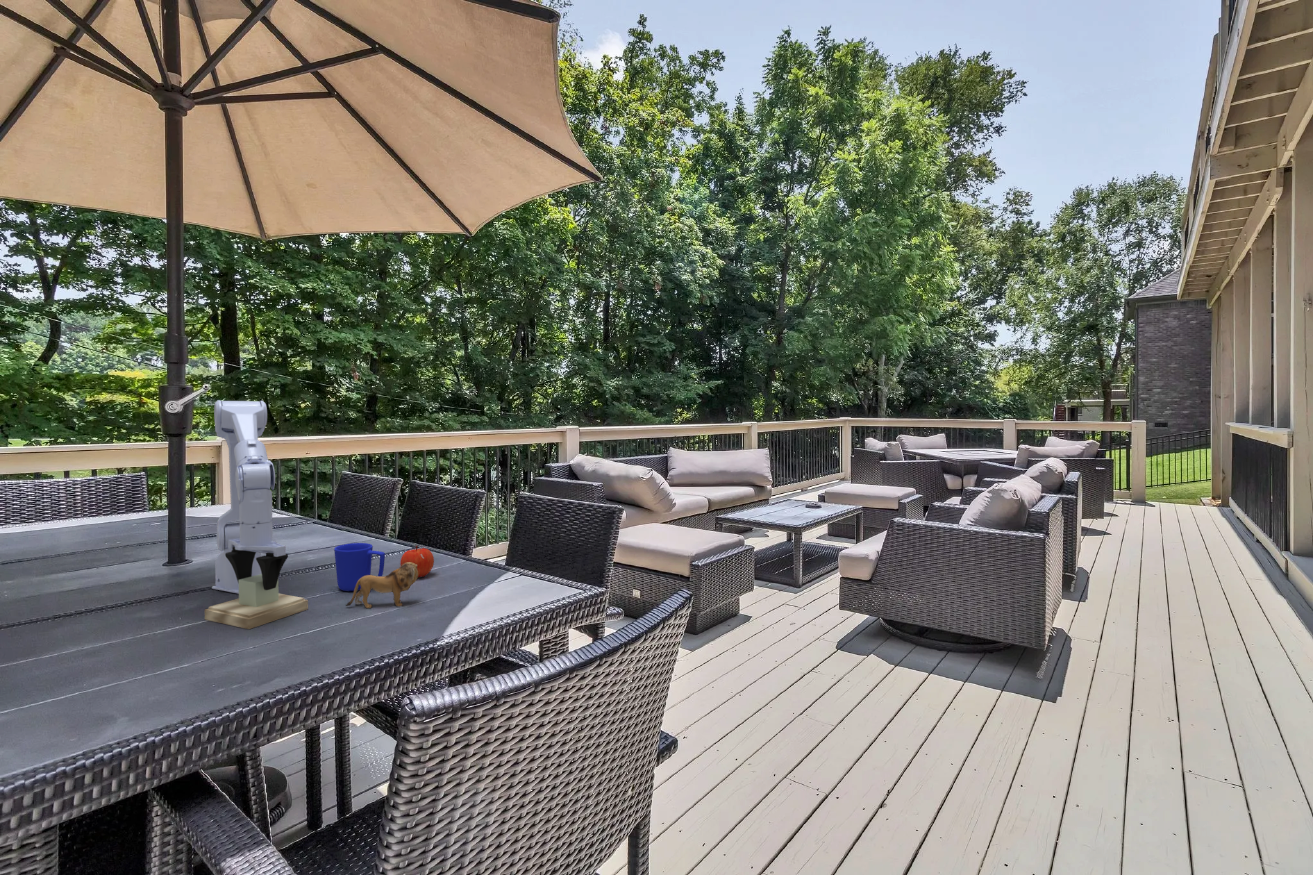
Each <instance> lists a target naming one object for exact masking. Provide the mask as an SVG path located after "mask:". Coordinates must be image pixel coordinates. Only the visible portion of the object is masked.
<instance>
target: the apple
mask: <svg viewBox="0 0 1313 875" xmlns="http://www.w3.org/2000/svg"><path fill="white" fill-rule="evenodd" d="M399 562H400V565H399V567H401V566H402V565H403V564H404V563H407V562H411V563H414V564H416V565H417V570H418V577H417V579H418V578H423V577H425V576H427V575H428V574H429V573H430V572H431V571H432V569H433V568H434V565H435V564H434V563H435V558H434V554H433V552H431V550H430V549H428V548H426V547H425V548H424V547H423V548H418V545H415V548H414V549H409V550H407V551H405V552H404V553H403V554H402V556H401V558H400V561H399Z"/></svg>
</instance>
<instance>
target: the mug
mask: <svg viewBox="0 0 1313 875" xmlns="http://www.w3.org/2000/svg"><path fill="white" fill-rule="evenodd" d="M373 547H374V546H373V545H372V544H371V543H366V542H354V543H353V542H351V543H346V544H340V545H337V546H335V547H334V549H333V550H334V562H335V571H336V582H337V587H338V588H339V590H341V591H344V592H354V589H355V586H356V584H357V582H358V580H359V579H360V578H362V577H363V576H367V575H372V574H371V573H372V571H371V570H372V561H373V560H372V559H373V555H377V556H379V568H378V575H377V576H378V577H383V575H384V570H385V569H384V568H385V560H386V558H385V557H386V553H385V552H384V551H379V550H373ZM360 589H361V586H360V585H359V587H358V590H357V591H360Z"/></svg>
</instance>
